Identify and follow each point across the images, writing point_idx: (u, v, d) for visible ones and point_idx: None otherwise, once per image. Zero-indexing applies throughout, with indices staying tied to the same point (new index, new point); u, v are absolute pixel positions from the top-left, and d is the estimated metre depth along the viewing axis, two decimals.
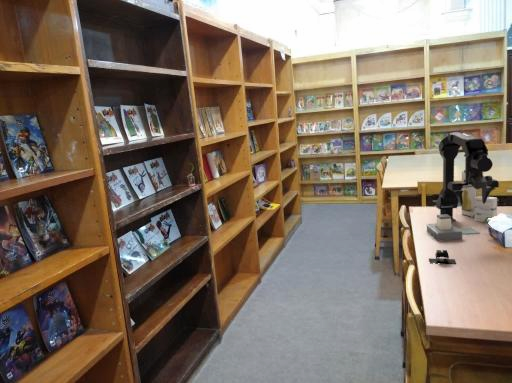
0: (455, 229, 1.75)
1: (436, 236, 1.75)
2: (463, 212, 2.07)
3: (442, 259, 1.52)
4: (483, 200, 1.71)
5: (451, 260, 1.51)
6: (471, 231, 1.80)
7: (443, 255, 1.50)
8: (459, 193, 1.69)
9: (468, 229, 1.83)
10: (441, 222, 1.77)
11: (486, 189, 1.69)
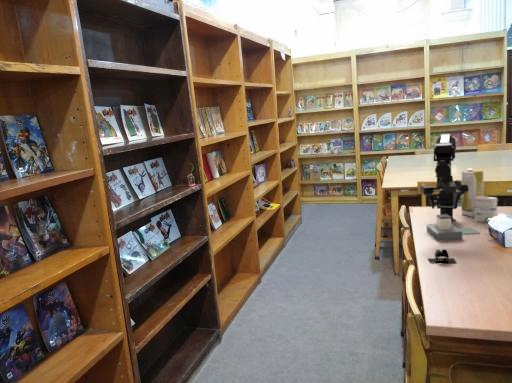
0: (455, 229, 1.75)
1: (436, 236, 1.75)
2: (463, 212, 2.07)
3: (442, 259, 1.52)
4: (454, 204, 1.77)
5: (450, 259, 1.52)
6: (471, 231, 1.80)
7: (443, 255, 1.50)
8: (431, 197, 1.75)
9: (468, 229, 1.83)
10: (441, 222, 1.77)
11: (457, 193, 1.75)
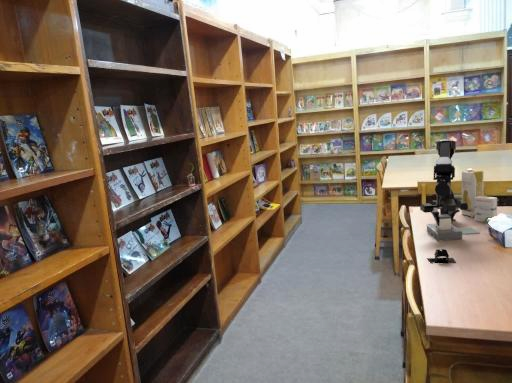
0: (455, 229, 1.75)
1: (436, 236, 1.75)
2: (463, 212, 2.07)
3: (441, 258, 1.52)
4: None
5: (450, 259, 1.52)
6: (471, 231, 1.80)
7: (443, 254, 1.50)
8: (436, 214, 1.76)
9: (468, 229, 1.83)
10: (441, 222, 1.77)
11: (451, 211, 1.76)
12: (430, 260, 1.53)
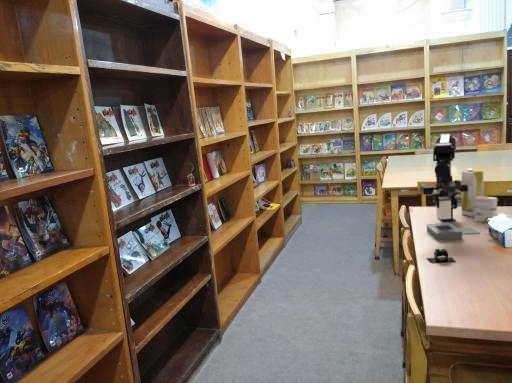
0: (455, 229, 1.75)
1: (436, 236, 1.75)
2: (463, 212, 2.07)
3: (441, 258, 1.53)
4: None
5: (449, 258, 1.53)
6: (471, 231, 1.80)
7: (443, 254, 1.51)
8: (435, 196, 1.75)
9: (468, 229, 1.83)
10: (441, 204, 1.75)
11: (451, 193, 1.75)
12: (430, 260, 1.53)
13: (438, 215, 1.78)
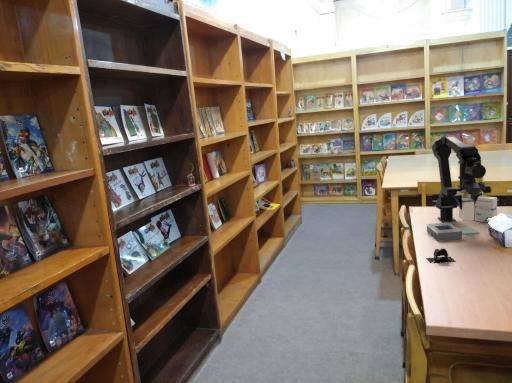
0: (455, 229, 1.75)
1: (436, 236, 1.75)
2: None
3: (441, 258, 1.53)
4: None
5: (449, 258, 1.53)
6: (471, 231, 1.80)
7: (443, 254, 1.51)
8: (459, 198, 1.77)
9: (468, 229, 1.83)
10: (464, 206, 1.77)
11: (474, 195, 1.77)
12: (430, 260, 1.54)
13: (461, 216, 1.81)
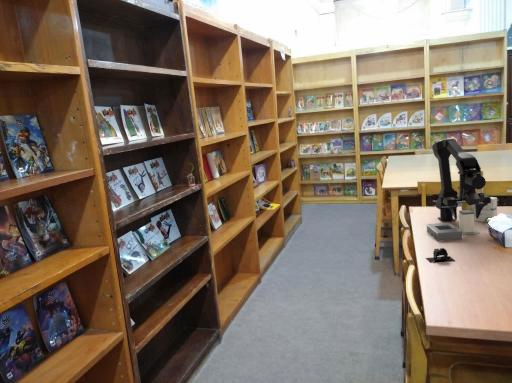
0: (455, 229, 1.75)
1: (436, 236, 1.75)
2: None
3: (440, 257, 1.54)
4: (476, 215, 1.80)
5: (448, 257, 1.54)
6: None
7: (443, 253, 1.51)
8: (453, 208, 1.78)
9: None
10: (464, 218, 1.78)
11: (479, 205, 1.78)
12: (429, 259, 1.54)
13: (461, 228, 1.82)
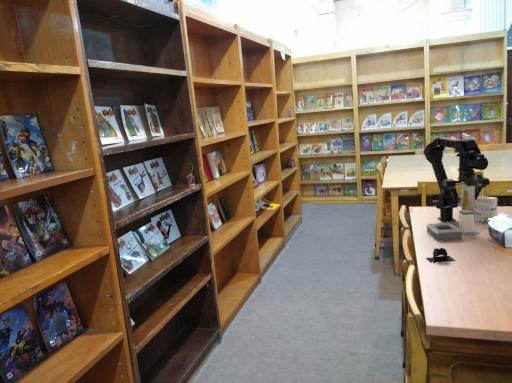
0: (455, 229, 1.75)
1: (436, 236, 1.75)
2: None
3: (440, 257, 1.54)
4: (475, 196, 1.85)
5: (447, 257, 1.54)
6: None
7: (442, 253, 1.52)
8: (453, 190, 1.84)
9: None
10: (464, 218, 1.78)
11: (478, 186, 1.83)
12: (429, 259, 1.54)
13: (461, 228, 1.82)
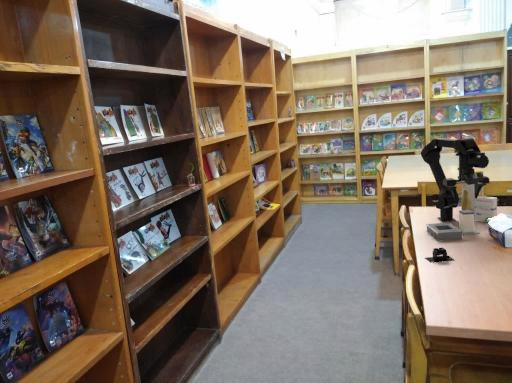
0: (455, 229, 1.75)
1: (436, 236, 1.75)
2: None
3: (439, 257, 1.54)
4: (475, 195, 1.86)
5: (447, 257, 1.55)
6: None
7: (442, 253, 1.52)
8: (453, 189, 1.85)
9: None
10: (464, 218, 1.78)
11: (478, 185, 1.84)
12: (429, 259, 1.54)
13: (461, 228, 1.82)
